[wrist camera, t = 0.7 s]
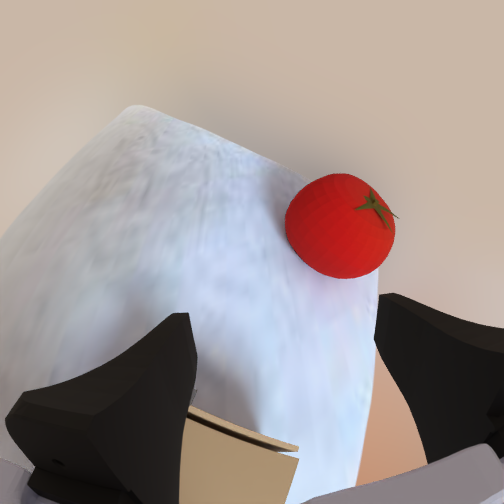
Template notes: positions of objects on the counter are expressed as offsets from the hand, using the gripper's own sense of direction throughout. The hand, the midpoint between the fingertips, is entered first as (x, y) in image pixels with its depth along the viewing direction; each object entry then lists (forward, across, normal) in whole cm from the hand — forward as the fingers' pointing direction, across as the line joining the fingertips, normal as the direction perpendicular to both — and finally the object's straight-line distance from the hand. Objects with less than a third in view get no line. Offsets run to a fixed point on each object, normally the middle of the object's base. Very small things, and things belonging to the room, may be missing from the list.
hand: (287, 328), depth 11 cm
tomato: (+28, -7, +7) cm, 30 cm away
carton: (+3, +8, +16) cm, 18 cm away
